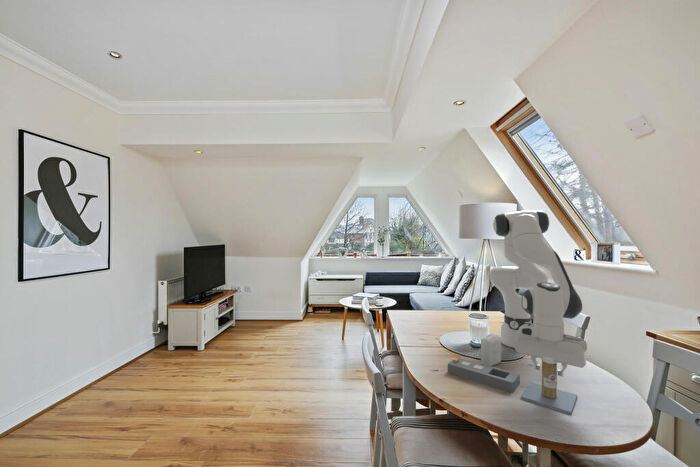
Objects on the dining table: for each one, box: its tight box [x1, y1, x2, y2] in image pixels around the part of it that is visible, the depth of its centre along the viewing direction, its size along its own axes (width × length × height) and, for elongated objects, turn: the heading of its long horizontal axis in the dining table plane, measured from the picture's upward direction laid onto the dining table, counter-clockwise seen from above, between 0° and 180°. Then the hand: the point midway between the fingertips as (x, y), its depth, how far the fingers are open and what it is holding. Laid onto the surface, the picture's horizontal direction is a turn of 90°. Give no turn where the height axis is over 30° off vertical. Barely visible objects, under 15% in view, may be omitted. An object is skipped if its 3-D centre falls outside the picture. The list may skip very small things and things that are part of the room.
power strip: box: [447, 356, 521, 394], centre depth 121 cm, size 9×24×4 cm, turn 48°
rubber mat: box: [519, 381, 578, 416], centre depth 106 cm, size 14×14×1 cm
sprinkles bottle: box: [540, 357, 558, 398], centre depth 106 cm, size 5×5×14 cm
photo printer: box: [480, 333, 502, 367], centre depth 134 cm, size 10×4×12 cm, turn 123°
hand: (548, 372), depth 106 cm, fingers open, 5 cm apart
